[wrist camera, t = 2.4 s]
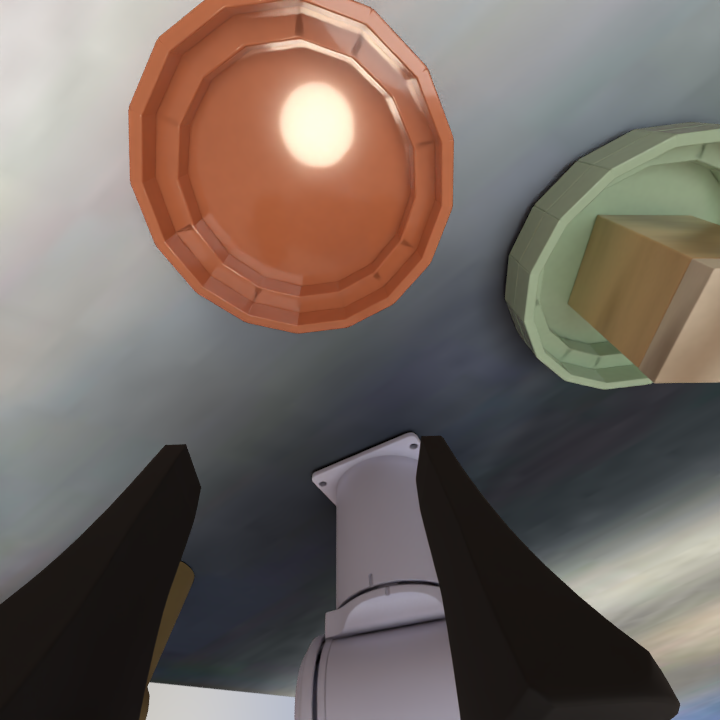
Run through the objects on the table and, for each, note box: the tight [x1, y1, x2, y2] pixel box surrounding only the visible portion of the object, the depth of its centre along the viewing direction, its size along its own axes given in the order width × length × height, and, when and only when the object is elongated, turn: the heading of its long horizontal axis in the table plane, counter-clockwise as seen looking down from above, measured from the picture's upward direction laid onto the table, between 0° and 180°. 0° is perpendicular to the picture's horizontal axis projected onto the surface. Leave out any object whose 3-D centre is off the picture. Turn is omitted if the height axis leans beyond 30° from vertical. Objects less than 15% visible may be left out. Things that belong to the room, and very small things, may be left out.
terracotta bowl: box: [128, 0, 454, 334], centre depth 16 cm, size 12×12×3 cm
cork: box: [139, 561, 194, 720], centre depth 30 cm, size 6×6×11 cm
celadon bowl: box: [505, 122, 720, 389], centre depth 19 cm, size 12×12×3 cm
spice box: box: [568, 215, 720, 383], centre depth 17 cm, size 5×5×7 cm
